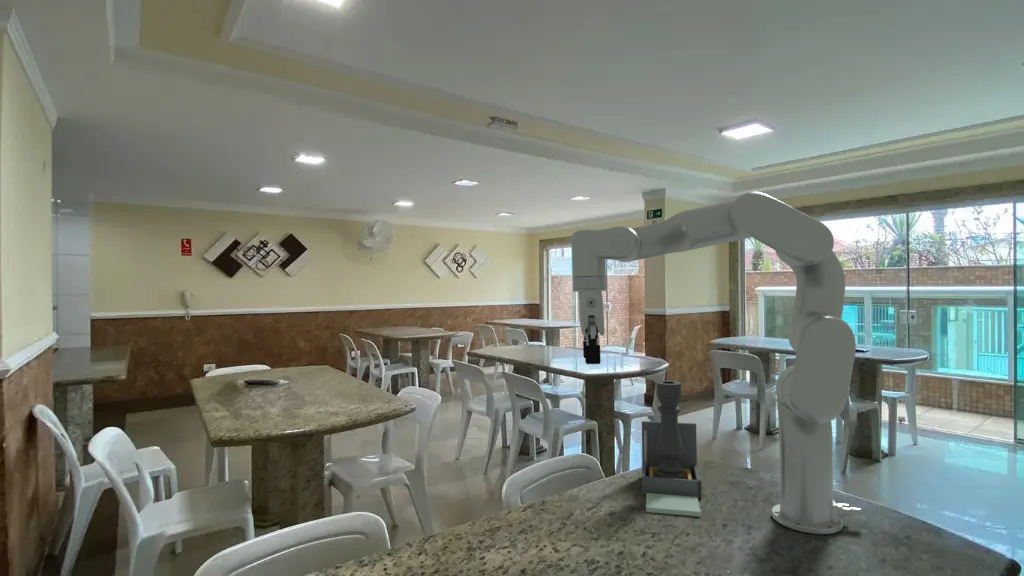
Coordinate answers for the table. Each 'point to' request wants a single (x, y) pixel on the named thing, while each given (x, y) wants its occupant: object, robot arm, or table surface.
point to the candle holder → (669, 430)
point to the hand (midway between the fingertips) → (591, 360)
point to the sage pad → (672, 504)
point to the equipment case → (687, 461)
